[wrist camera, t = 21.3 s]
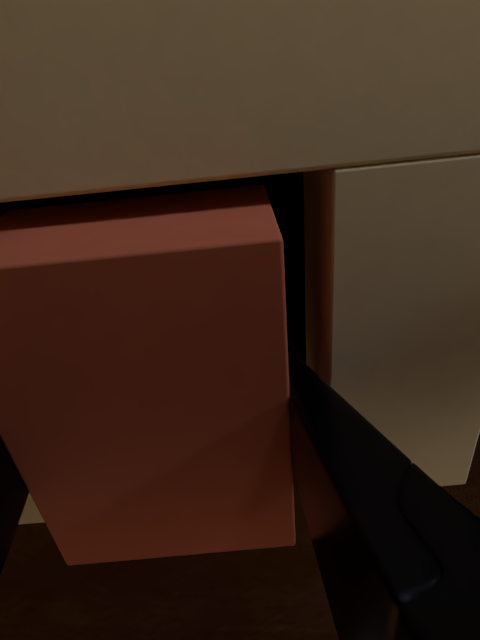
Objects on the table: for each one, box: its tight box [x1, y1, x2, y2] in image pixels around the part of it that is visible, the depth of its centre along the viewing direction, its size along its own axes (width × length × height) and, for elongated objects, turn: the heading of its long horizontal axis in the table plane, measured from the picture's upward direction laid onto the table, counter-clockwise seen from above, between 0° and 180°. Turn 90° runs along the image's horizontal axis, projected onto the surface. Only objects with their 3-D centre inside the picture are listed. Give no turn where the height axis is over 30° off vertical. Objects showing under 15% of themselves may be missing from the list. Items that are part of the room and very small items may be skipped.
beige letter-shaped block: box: [0, 0, 480, 524], centre depth 8 cm, size 16×14×3 cm
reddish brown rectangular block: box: [0, 185, 296, 565], centre depth 9 cm, size 7×5×3 cm
